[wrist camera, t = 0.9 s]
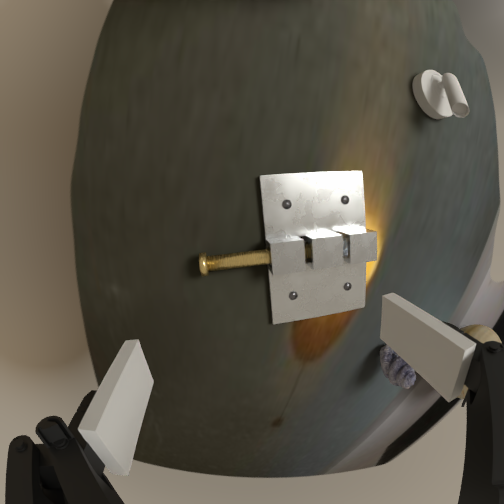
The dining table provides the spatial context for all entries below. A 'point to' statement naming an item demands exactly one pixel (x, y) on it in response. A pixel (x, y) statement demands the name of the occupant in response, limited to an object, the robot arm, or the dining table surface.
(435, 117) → the wall hook
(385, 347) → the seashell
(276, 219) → the hinge leaves
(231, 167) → the dining table surface
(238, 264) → the pin
